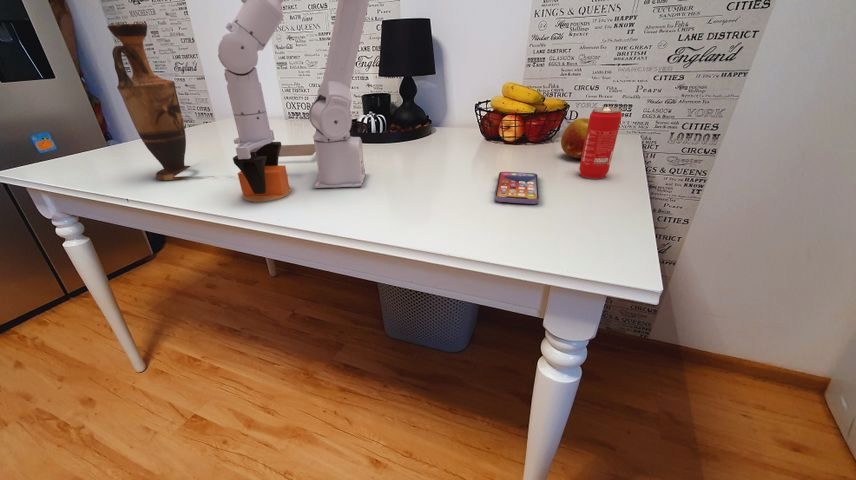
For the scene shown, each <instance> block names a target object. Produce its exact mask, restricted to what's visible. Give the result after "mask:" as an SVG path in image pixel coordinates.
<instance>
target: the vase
mask: <svg viewBox="0 0 856 480" xmlns="http://www.w3.org/2000/svg"><path fill="white" fill-rule="evenodd" d="M106 27H107V28H108V30H109V31H110V33H111V34H112V35H113V36H114V37H115V38H116V39H117V40H119V41H120V43H121V44H122V45H116V46H114V47H113V48H112V51H111V54H112V59H113V65H114V69H115V73H116V76H117V80H118V81H117V82H118V83H117V86H116V88H117V90H118V92H119V94H120V96H121V98H122V101H123V103H124V106H125V108H126V110H127V112H128V115H129V117H130V119H131V121H132V124H133V126H134V129H135V130H136V132H137V134H138V135H139V138H140V139H141V141H142V143H143V144H144V146H145V147H146V148H147V150H148V151H149V152H150V154H152V156H153V157H154V158H155V159H156V161H158V163H160V165H161V167H162V168H161V169H159V170H158V171H157V172H156V173H155V177H156V179H157V180H159V181H173V180H175V181H176V180H180V179H184V178H188V177H189V176H188V175H182V176H177V175H179V174H181V173H183V172H184V171H186V170H188V169H189V168H191V167H192V165H185V157H186V150H187V137H186V128H185V123H184V118H183V114H182V109H181V106H180V101H179V98H178V94H177V88H176V83H175V81H174V80H171V79H170V80H169V79H164V78H162V77H159V76H158V75H156V74H155V73H154V72H153V70H152V68H151V65H150V63H149V60H148V57H147V54H146V51H145V47H144V39H145V38H146V37H147V35H148V34H147V33H148V24H147V23H120V24H109V25H106ZM122 54H123V55H124V56H125V58H126V60H127V61H128V64H129V66H130V68H131V70H132V75H131V77H130V76H129V74H128V73H127V71H126V68H125V65H124V61H123V57H122Z"/></svg>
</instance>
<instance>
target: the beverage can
mask: <svg viewBox="0 0 856 480" xmlns="http://www.w3.org/2000/svg"><path fill="white" fill-rule="evenodd" d="M622 110H623V109H621V108H617V107H595V108H592V112H591V113H590V114H589V117H588V119H589V123H588V128H587V133H586V138H585V143H584V148H583V153H582V158H580V163H579V174H580V176H581V177H582V178H585V179H590V180H591V179H593V180H600V179H604V178H606V175H607V174H608V172H610V166H611V162H612V158H613V155H614V150H615V145H616V142H617V137H618V133H619V129H620V125H621V122H622V117H623V113H622Z"/></svg>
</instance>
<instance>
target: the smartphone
mask: <svg viewBox="0 0 856 480" xmlns="http://www.w3.org/2000/svg"><path fill="white" fill-rule="evenodd" d="M538 177H539V176H538V174H537V173H533V172H517V171H500V172H499V173H498V175H497V183H496V188H495V191H494V200H495V201H496V202H501V203H511V204H512V203H514V204H526V205H527V204H528V205H537V204H539V200H540V193H539V192H540V190H539V189H540V188H539V178H538Z"/></svg>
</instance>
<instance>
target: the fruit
mask: <svg viewBox="0 0 856 480" xmlns="http://www.w3.org/2000/svg"><path fill="white" fill-rule="evenodd" d="M588 123H589V118H587V117H579V118H576V119H574V120H572V121H571V122H570V123H569V124H568V125H567V126H566V127H565V129H564V131H563V133H562V135H561V139H560V146H561V149H562V151H563V152H564V153H565V154H566V155H568V156H569V157H571V158H574V159H581V158H582V153H583V148H584V143H585V138H586V133H587V128H588Z"/></svg>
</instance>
